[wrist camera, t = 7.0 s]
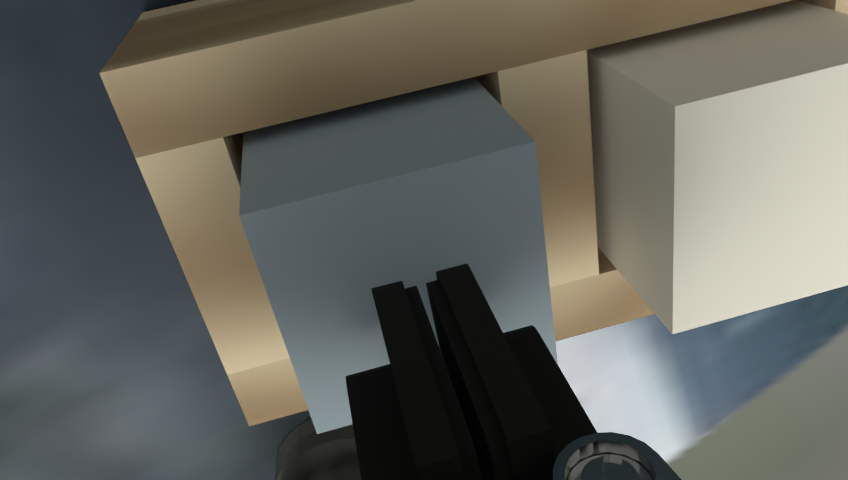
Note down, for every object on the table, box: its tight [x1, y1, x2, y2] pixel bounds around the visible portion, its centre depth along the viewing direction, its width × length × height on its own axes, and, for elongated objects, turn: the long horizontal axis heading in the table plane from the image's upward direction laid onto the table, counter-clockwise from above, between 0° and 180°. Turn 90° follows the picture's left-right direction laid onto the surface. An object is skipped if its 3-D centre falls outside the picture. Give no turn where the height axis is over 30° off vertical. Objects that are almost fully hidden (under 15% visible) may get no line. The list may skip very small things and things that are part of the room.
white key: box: [587, 0, 848, 334], centre depth 15 cm, size 5×5×4 cm
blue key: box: [239, 77, 558, 434], centre depth 14 cm, size 5×5×4 cm
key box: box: [99, 0, 848, 426], centre depth 18 cm, size 9×24×6 cm, turn 99°
